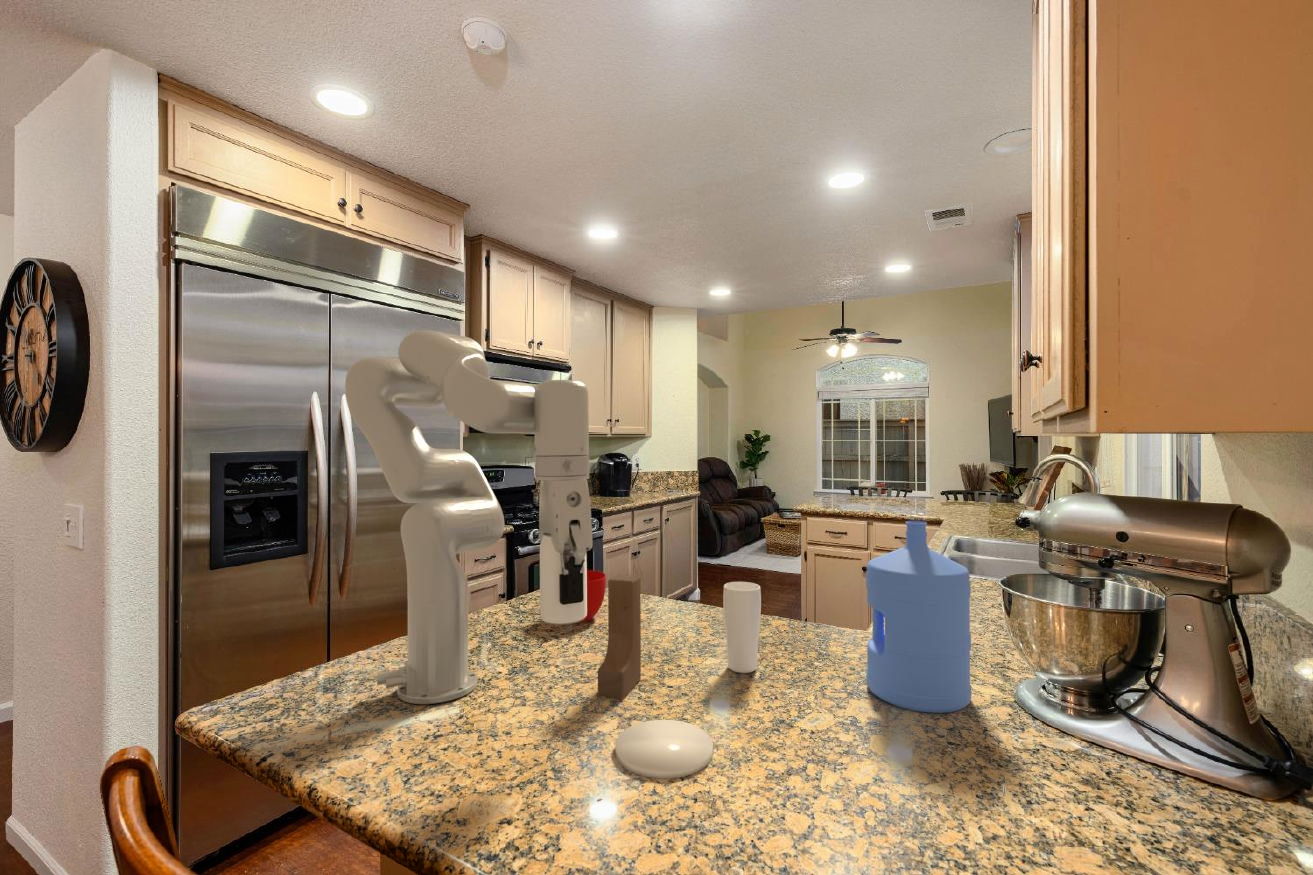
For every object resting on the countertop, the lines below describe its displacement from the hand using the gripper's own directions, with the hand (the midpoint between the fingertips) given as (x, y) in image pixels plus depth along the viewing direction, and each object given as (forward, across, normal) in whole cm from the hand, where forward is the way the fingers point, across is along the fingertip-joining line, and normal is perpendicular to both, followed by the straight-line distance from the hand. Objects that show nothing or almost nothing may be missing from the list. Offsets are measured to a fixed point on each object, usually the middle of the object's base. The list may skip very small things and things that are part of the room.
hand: (563, 595), depth 82 cm
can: (+3, 0, 0) cm, 3 cm away
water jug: (+20, -13, -56) cm, 61 cm away
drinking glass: (+20, +9, -37) cm, 43 cm away
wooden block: (+20, +12, -14) cm, 27 cm away
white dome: (+20, -10, -11) cm, 24 cm away
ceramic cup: (+20, +50, -19) cm, 57 cm away
